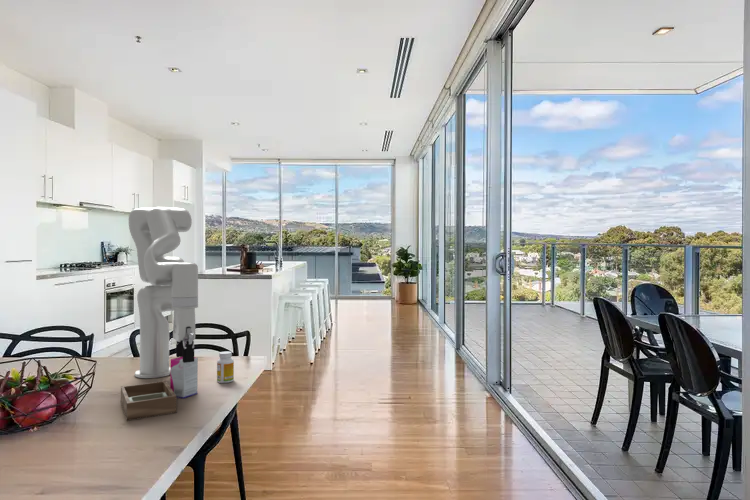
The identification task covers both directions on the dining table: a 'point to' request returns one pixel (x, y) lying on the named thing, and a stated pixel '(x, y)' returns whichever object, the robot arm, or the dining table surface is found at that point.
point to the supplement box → (184, 377)
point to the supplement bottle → (225, 367)
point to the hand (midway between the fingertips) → (185, 359)
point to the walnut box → (147, 400)
